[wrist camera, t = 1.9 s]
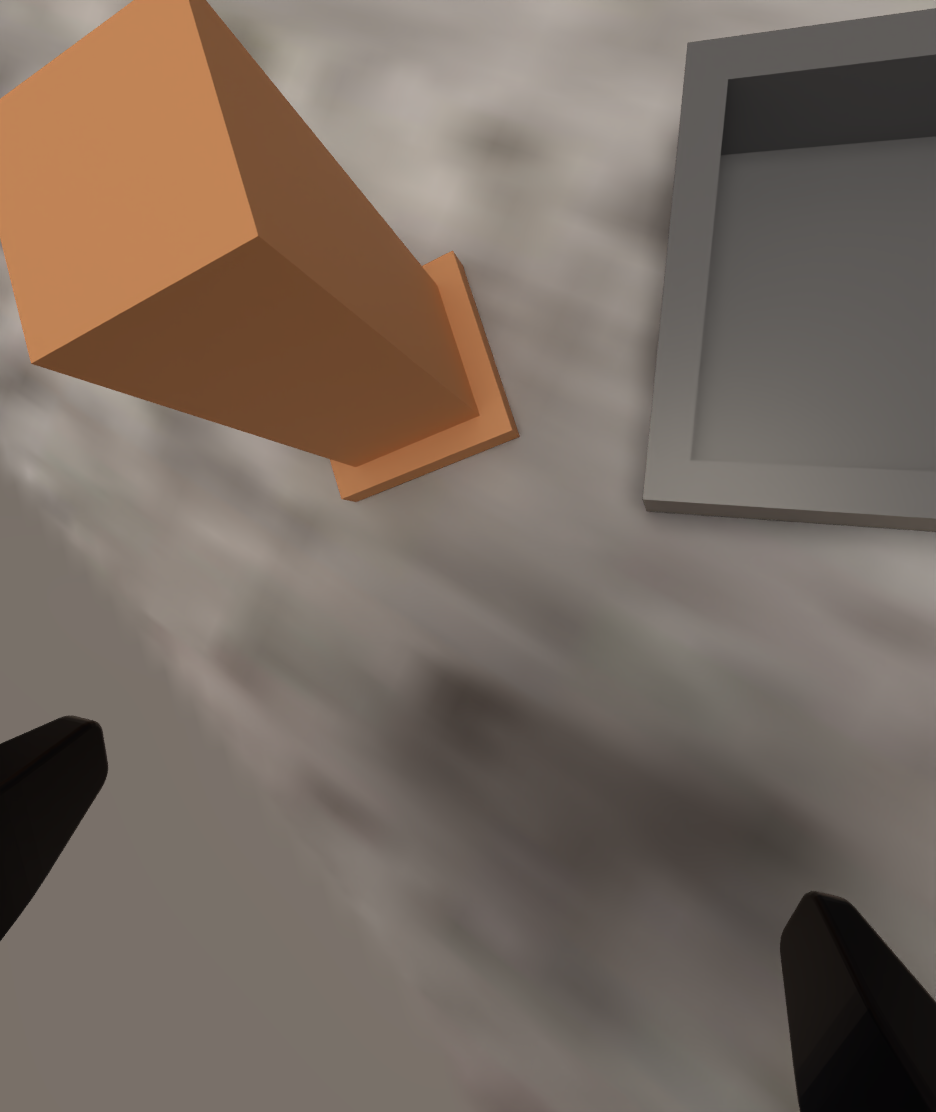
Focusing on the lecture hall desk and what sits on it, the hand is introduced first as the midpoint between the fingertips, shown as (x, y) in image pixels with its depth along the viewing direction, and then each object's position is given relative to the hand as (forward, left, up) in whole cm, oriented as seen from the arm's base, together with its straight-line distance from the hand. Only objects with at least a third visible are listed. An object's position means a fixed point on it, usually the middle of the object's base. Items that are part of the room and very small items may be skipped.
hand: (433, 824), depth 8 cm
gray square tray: (+13, +1, -12) cm, 17 cm away
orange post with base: (+3, +10, -12) cm, 16 cm away
